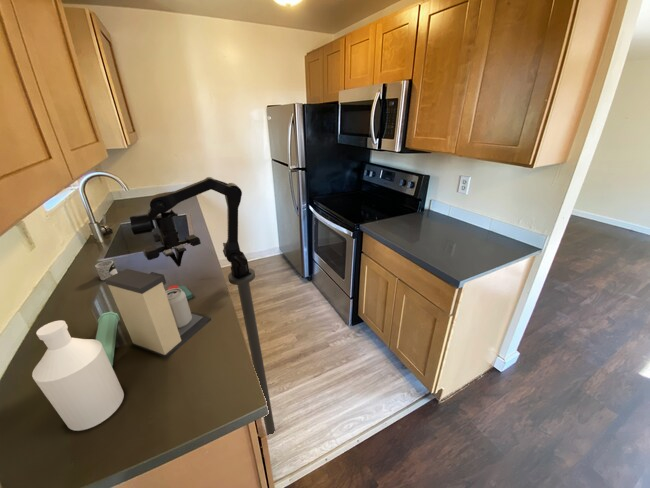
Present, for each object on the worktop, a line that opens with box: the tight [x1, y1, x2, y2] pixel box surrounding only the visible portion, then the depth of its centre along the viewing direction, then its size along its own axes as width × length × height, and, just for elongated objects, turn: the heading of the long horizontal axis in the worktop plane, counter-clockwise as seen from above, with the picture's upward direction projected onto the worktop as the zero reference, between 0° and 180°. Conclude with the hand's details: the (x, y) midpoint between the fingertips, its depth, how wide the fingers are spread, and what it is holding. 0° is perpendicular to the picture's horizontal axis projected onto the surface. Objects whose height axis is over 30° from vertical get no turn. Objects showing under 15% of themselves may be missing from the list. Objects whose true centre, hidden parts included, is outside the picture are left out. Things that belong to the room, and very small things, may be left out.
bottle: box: [31, 319, 125, 432], centre depth 63 cm, size 12×12×25 cm
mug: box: [94, 259, 119, 281], centre depth 127 cm, size 10×7×7 cm
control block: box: [165, 285, 194, 301], centre depth 108 cm, size 10×9×4 cm
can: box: [165, 288, 192, 328], centre depth 91 cm, size 8×8×12 cm
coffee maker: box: [103, 268, 212, 359], centre depth 86 cm, size 18×15×24 cm
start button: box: [167, 284, 179, 290], centre depth 107 cm, size 4×4×2 cm
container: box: [95, 311, 121, 367], centre depth 85 cm, size 6×6×25 cm
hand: (178, 266), depth 108 cm, fingers closed
